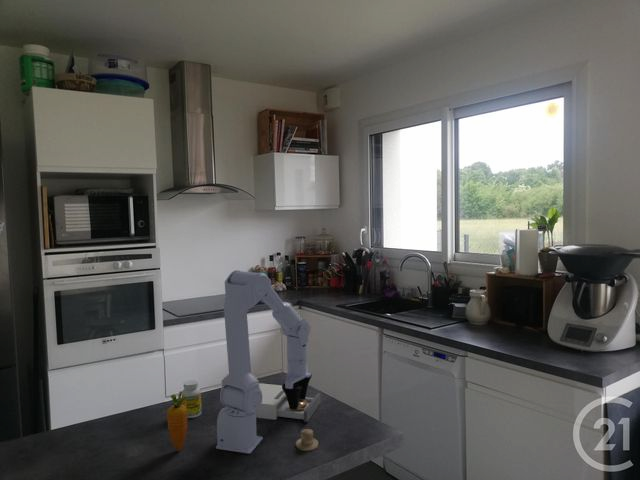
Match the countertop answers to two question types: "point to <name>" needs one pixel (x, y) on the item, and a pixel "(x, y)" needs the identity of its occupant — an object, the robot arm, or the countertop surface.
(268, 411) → the player
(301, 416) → the tray
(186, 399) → the supplement bottle
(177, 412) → the carrot
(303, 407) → the disc
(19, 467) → the countertop surface
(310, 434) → the stand
